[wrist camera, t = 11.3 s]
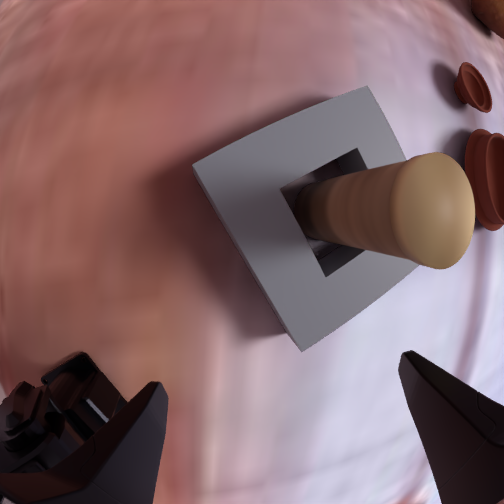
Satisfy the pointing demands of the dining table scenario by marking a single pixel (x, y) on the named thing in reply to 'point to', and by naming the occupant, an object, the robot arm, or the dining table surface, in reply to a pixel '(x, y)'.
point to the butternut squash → (490, 14)
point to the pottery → (482, 152)
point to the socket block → (284, 223)
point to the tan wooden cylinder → (395, 210)
